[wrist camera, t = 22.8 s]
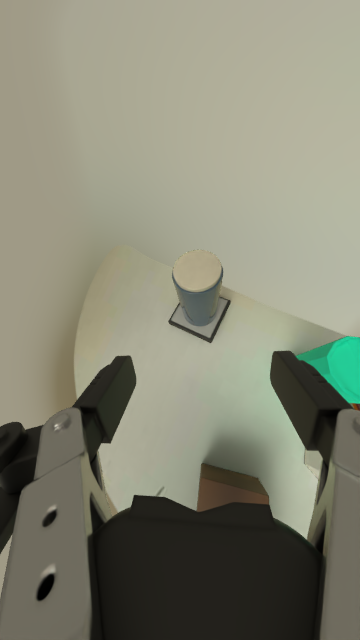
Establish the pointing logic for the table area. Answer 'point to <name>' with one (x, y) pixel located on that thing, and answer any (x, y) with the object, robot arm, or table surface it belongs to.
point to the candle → (338, 365)
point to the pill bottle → (355, 406)
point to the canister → (198, 286)
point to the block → (228, 488)
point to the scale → (200, 331)
